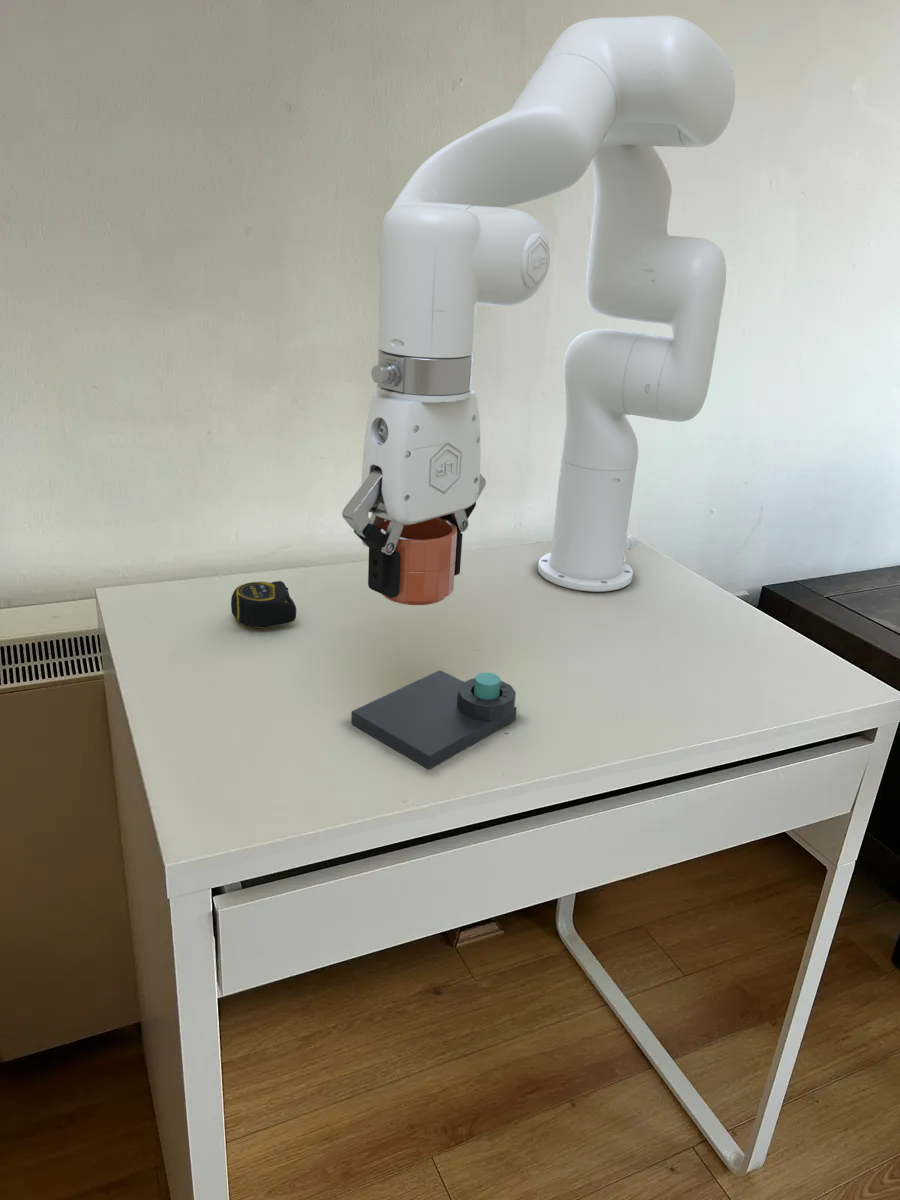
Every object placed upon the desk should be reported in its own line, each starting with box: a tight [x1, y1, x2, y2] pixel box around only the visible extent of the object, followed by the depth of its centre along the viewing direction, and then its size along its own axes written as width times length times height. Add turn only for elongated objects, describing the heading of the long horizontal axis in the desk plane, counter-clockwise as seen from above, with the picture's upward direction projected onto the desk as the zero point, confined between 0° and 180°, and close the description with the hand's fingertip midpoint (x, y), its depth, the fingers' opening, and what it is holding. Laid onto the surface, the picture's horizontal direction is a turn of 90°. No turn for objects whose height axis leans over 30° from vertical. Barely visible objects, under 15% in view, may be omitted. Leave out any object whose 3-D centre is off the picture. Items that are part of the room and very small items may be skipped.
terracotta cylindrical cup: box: [381, 517, 457, 606], centre depth 78 cm, size 7×7×6 cm
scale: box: [350, 669, 517, 770], centre depth 84 cm, size 13×10×3 cm
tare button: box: [474, 672, 502, 700], centre depth 84 cm, size 2×2×2 cm
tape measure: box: [230, 580, 297, 629], centre depth 102 cm, size 7×7×4 cm
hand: (415, 580), depth 79 cm, fingers closed on terracotta cylindrical cup, 6 cm apart
